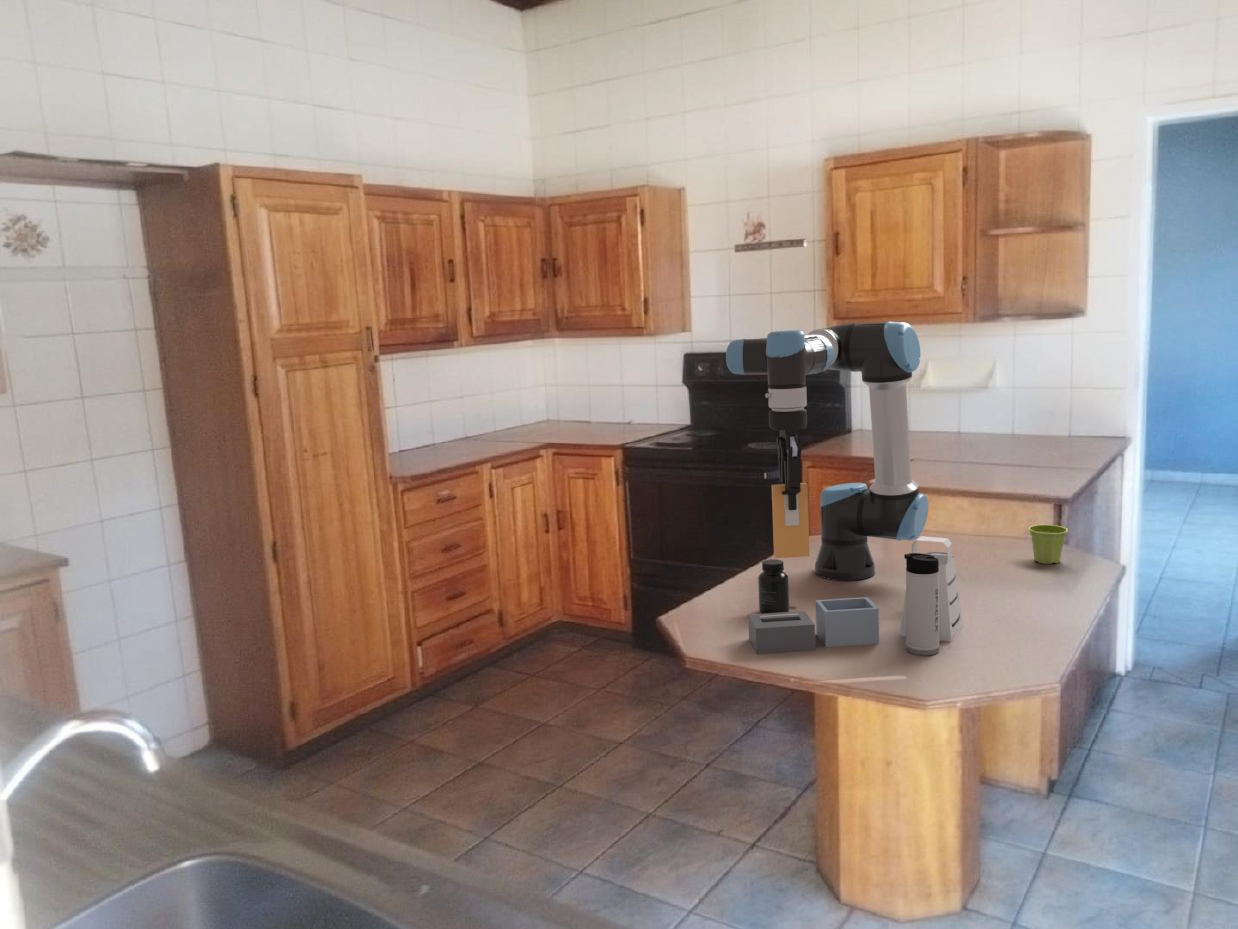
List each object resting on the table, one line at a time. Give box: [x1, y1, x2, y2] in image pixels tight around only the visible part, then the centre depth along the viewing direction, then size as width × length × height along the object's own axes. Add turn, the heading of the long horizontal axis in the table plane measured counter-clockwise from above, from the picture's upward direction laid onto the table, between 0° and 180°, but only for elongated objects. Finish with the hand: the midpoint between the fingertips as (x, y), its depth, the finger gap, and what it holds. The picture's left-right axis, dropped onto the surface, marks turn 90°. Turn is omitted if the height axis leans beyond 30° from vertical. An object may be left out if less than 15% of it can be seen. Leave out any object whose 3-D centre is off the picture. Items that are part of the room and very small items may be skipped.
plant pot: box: [1027, 524, 1069, 565], centre depth 253 cm, size 9×9×9 cm
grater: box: [899, 535, 964, 643], centre depth 205 cm, size 10×10×20 cm
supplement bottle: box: [757, 558, 790, 614], centre depth 224 cm, size 7×7×12 cm
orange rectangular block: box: [771, 482, 810, 559], centre depth 198 cm, size 7×2×15 cm, turn 91°
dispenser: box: [747, 610, 816, 655], centre depth 201 cm, size 12×9×6 cm
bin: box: [815, 596, 880, 648], centre depth 203 cm, size 8×11×8 cm
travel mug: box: [904, 552, 940, 657], centre depth 194 cm, size 6×7×20 cm
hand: (790, 523), depth 198 cm, fingers closed on orange rectangular block, 1 cm apart
